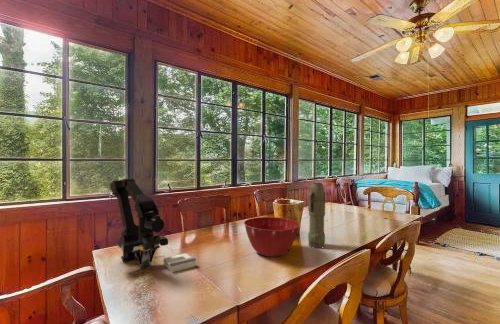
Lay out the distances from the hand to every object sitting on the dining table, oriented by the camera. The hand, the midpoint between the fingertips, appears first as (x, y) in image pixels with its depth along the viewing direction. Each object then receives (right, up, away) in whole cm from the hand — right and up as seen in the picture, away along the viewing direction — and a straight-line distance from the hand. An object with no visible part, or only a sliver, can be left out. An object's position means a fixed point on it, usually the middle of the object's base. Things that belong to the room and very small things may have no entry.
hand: (145, 262), depth 114 cm
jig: (+15, -2, +2) cm, 15 cm away
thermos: (+84, -2, +29) cm, 89 cm away
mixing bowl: (+58, -2, +19) cm, 61 cm away
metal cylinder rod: (0, -2, 0) cm, 2 cm away
